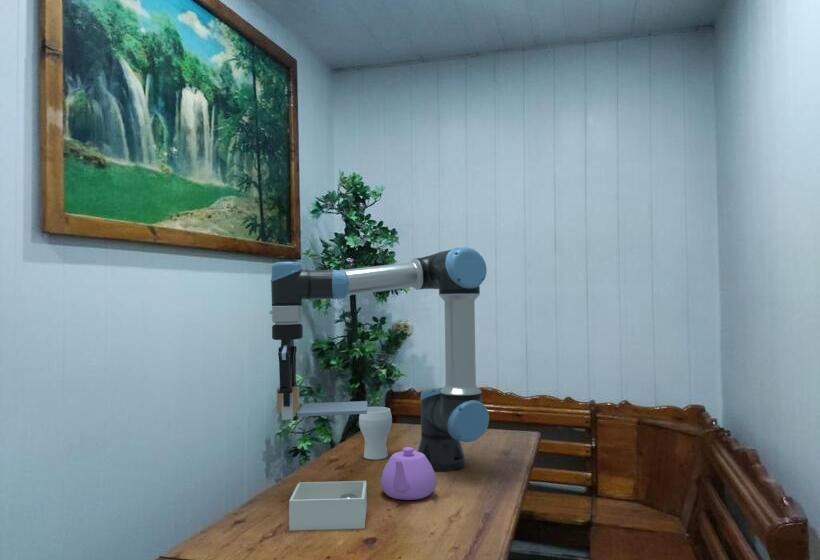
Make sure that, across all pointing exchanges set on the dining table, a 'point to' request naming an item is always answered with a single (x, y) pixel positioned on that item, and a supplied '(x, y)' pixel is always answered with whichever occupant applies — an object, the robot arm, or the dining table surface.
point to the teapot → (408, 475)
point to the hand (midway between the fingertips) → (288, 417)
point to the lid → (322, 406)
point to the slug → (348, 496)
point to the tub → (328, 506)
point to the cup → (375, 431)
